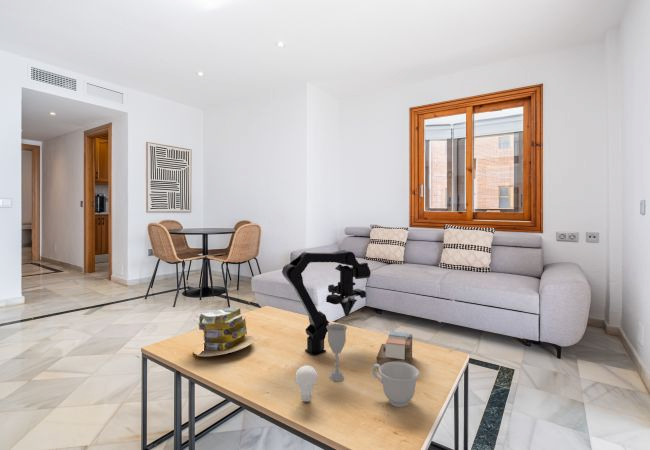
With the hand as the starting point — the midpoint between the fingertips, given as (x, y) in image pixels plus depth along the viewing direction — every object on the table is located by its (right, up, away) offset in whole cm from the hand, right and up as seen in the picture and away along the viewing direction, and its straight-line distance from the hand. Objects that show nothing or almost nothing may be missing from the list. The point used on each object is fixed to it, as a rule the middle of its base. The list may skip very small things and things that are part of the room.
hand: (346, 316), depth 147 cm
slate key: (+19, -9, -12) cm, 25 cm away
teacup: (+12, -15, -41) cm, 46 cm away
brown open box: (+18, -14, -15) cm, 27 cm away
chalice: (-5, -15, -27) cm, 31 cm away
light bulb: (-15, -15, -42) cm, 47 cm away
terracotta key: (+17, -10, -19) cm, 28 cm away
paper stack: (-52, -14, -3) cm, 54 cm away
